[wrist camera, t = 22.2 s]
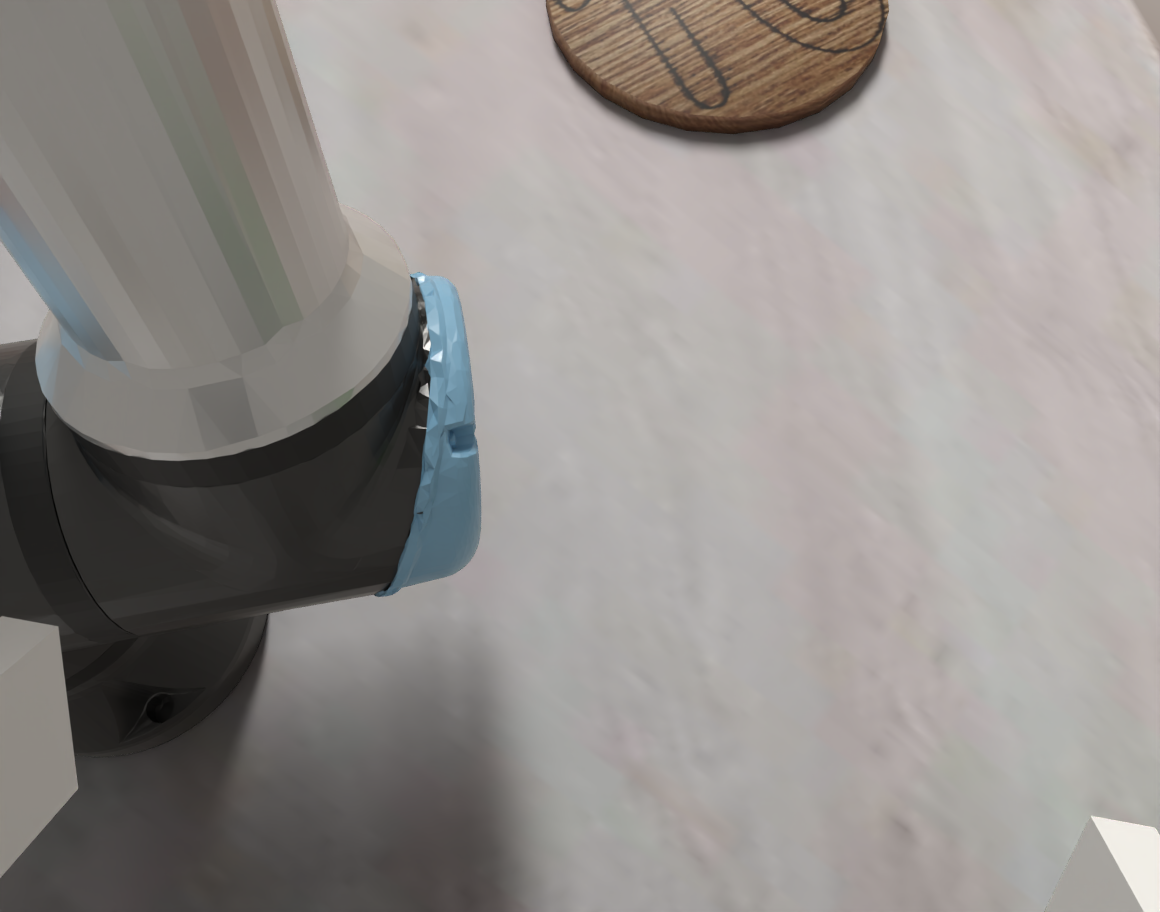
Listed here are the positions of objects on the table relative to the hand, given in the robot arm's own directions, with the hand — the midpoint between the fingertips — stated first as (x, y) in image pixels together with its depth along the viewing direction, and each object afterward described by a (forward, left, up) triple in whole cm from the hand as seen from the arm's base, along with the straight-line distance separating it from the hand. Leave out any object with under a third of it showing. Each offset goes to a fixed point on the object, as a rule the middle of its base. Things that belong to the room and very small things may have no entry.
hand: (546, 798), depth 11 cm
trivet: (+1, +57, -36) cm, 67 cm away
